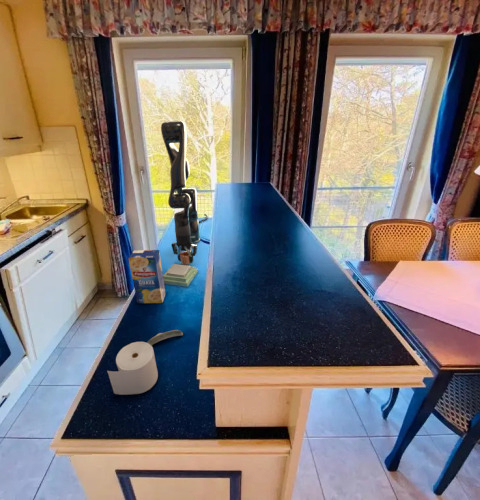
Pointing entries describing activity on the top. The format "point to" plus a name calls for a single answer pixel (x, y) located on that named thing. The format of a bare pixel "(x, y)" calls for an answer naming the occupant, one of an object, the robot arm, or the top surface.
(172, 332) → the ceramic fragment
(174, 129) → the robot arm
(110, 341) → the top surface
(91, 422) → the top surface
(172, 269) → the beige square slab
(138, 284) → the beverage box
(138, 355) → the toilet tissue
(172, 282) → the light green stepped block
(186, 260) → the terracotta cup
